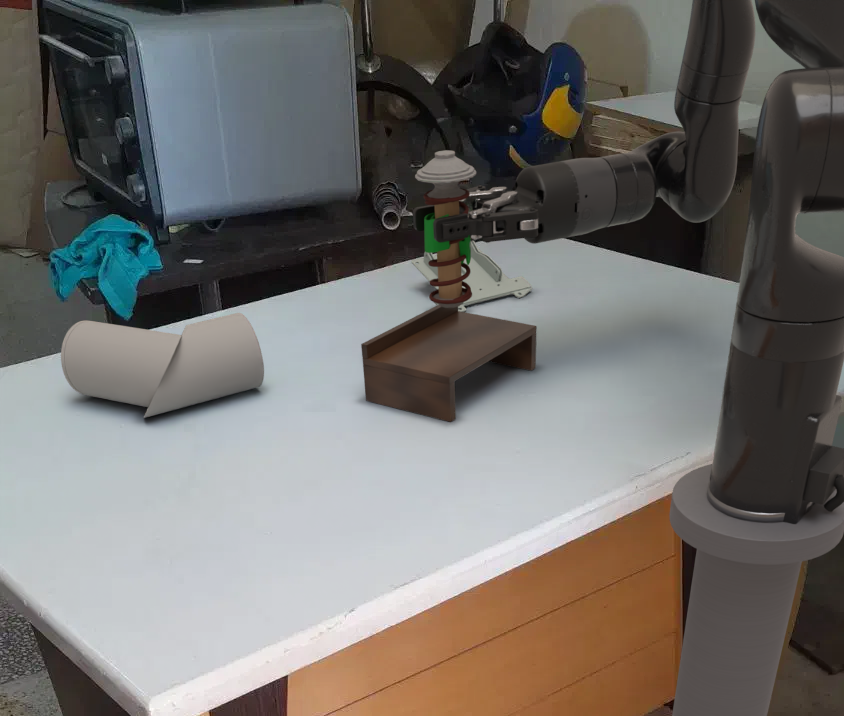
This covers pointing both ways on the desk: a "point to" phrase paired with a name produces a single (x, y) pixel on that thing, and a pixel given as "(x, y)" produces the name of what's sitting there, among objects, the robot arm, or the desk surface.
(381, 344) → the shelf
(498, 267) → the metal bracket
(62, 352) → the elbow connector
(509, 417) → the desk surface
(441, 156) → the shock absorber
